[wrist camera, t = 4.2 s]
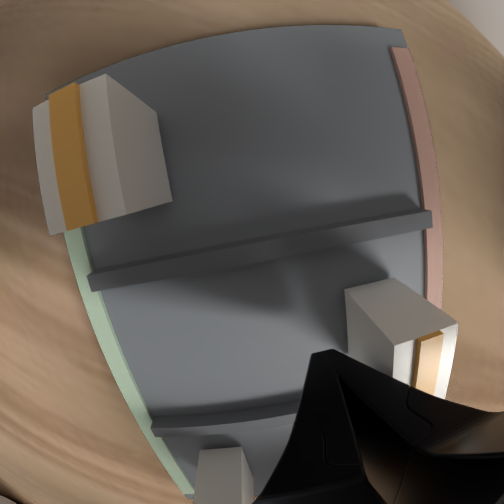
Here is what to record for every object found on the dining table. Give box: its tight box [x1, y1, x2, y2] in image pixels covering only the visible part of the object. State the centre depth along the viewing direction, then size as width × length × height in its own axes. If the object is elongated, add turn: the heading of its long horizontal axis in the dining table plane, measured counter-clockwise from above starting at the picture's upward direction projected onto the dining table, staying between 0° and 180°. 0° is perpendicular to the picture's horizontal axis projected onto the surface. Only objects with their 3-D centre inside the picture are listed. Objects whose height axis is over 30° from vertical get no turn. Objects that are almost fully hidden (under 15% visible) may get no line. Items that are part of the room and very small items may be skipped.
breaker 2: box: [193, 447, 254, 504], centre depth 10 cm, size 2×3×4 cm, turn 11°
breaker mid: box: [344, 277, 458, 399], centre depth 8 cm, size 2×3×4 cm, turn 10°
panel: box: [46, 25, 443, 499], centre depth 11 cm, size 14×22×2 cm, turn 11°
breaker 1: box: [32, 74, 173, 236], centre depth 7 cm, size 2×3×4 cm, turn 11°
